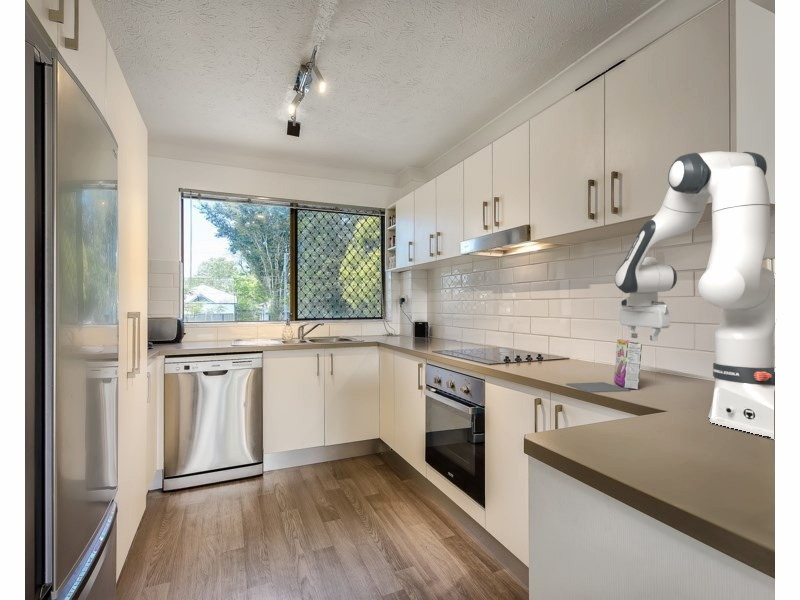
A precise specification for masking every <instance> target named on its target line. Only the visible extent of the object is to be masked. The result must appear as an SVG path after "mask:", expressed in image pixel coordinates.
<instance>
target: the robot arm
mask: <svg viewBox="0 0 800 600" xmlns="http://www.w3.org/2000/svg"><path fill="white" fill-rule="evenodd" d="M767 169H768V164H767V161H766V158H765V157H764V156H763V155H762V154H760V153H757V152H751V151H743V152H738V151H721V150H718V151H715V150H714V151H705V152H699V153H697V152H691V153H686V154H683V155H680V156H678V157H677V158H676V159H675V160H674V161H673V163H672V164H671V166H670V167H669V170H668V174H667V182H668V184H669V187H668V189H667V192H666V194H665V195H664V198H663V202H662V204H661V207H660V208H659V210H658V211H657V212H656V214H655V215H654V216H653V217H652V218H651V219H650V220H649V221H646V222H645V223H643V225H642V227H641V228H640V230H639V231H638V234H637V235H636V237H635V239H634V241H633V243H632V245H631V246H630V249H629V251H628V253H627V255H626V257H625V259H624V260H623V262H622V264H621V265H619V267H618V269H617V270H616V271H615V275H614V284H615V286H616V287H617V288H618V289H619V290H620V291H621V292H623V293H624V294H629V296H628V297H626V298H624V299H621V300H620V301H619V306H620V310H619V323H620V325H621V326H626V327H627V329H628V331H629V333H630V338H631V339H637V338H638V334H639V333H637V331H636V329H637V328H636V327H638V328H639V327H642V328H651V331H652V333H651V335H649V340H650V341H652V342H655V341H658V337H659V334H660V333H661V329H668V328H669V327H670V326H671V318H670V313H669V309H668V305H667V304H666V303H665V302H664V301H659V293H660V292H661V293H665V292H669V291H670V290H672V289H673V288H674V287H675V286H676V284H677V281H678V274H677V272H676V270H675V268H674V267H673V266H671V265H670V264H665V263H662V262H659V261H658V260H657V258H655V257H654V256H651V255H650V256H647V255H648V254H649V252H650V250H651V249H652V248H653V247H654V246H655V245H657V244H658V243H660V242H662V241H665V240H668V239H672V238H675V237H678V236H679V237H680V236H681V235H684V234H686V233H688V232H690V231H692V230H693V229H695V228H696V227H697V226H698V224H699V222H700V221H701V219H702V217H703V215H704V213H705V210H706V207H707V205H708V201H709V199H710V197H711V200H712V201H711V203H712V204H711V228H712V229H711V232H712V235H711V237H712V238H711V240H712V241H711V249H710V252H709V258H708V262H707V265H706V267H705V268H706V269H705V272H704V273H703V274H702V275H701V277H700V278H699V280H698V285H697V289H698V292H699V295H700V297H701V298H702V299H703V300H704V301H705V302H706V303H708V304H710V305H713V306H714V307H717V308H719V309H723V310H722V312H721V313H722V314H721V318H720V321H719V323H718V324H719V325H718V326H717V328H716V329H715V332H714V362H713V363H712V376H713V378H714V386H713V393H712V402H711V404H710V405H711V406H710V410H709V413H708V415H707V417H709V418H710V419H709V418H708V419H709V421H710V422H711V423H710V422H709V423H710V424H712V423H715V424H714V425H716V424H718V425H717V426H720V425H722V426H721V427H723V426H726V427H725V428H727V427H729V428H728V429H731V428H734V429H733V430H735V429H738V430H737V431H739V430H742V431H741V432H743V431H746V432H745V433H747V432H750V433H749V434H751V433H753V434H752V435H755V434H759V435H762V436H761V437H763V436H769V437H771V438H770V439H772V440H775V439H774V388H775V372H774V367H775V361H774V360H775V358H774V357H775V356H774V355H775V351H774V348H775V347H774V346H775V345H774V343H775V342H774V337H775V336H774V334H775V327H776V323H775V317H774V313H775V311H774V304H775V298H774V285H775V280H774V273H775V272H774V271H772V270H771V269H769V268H766V267H763V261H764V256H765V252H766V249H767V246H768V244H769V243H770V241H771V238H772V237H771V233H772V232H771V201H770V193H769V186H768V182H767V178H766V174H767V171H768V170H767ZM759 435H758V436H759Z"/></svg>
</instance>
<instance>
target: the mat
mask: <svg viewBox="0 0 800 600" xmlns="http://www.w3.org/2000/svg"><path fill="white" fill-rule="evenodd" d="M565 385H566V386H569V387H571V388H575V389H577V390H581V391H584V392H587V393H609V392H611V393H613V392H614V393H615V392H617V393H618V392H631V390H632V389H628V388H624V387H622V386H620V385H615V384H610V383H607V382H605V381H602V382H574V383H573V382H572V383H565Z"/></svg>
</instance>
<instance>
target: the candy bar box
mask: <svg viewBox="0 0 800 600" xmlns="http://www.w3.org/2000/svg"><path fill="white" fill-rule="evenodd" d="M616 340H617V343H616V351H615V364H614V365H615V366H614V378H613V382H614V383H615V384H617V386H619V387H622V388H626V389H630V390H639V383H640V375H641V374H640V371H641V362H642V361H641V360H642V348H643V347H642V346H643V343H642V342H637V341H634V340H630V339H621V338H620V339H616Z"/></svg>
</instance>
